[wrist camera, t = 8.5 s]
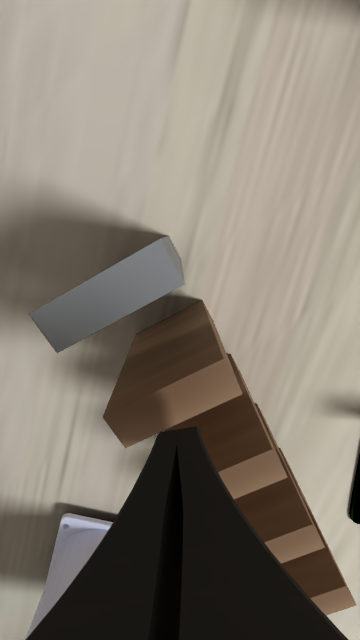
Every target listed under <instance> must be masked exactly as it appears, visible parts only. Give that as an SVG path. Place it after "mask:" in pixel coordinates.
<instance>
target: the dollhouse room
mask: <svg viewBox="0 0 360 640" xmlns="http://www.w3.org/2000/svg"><path fill="white" fill-rule="evenodd" d="M349 514H350V518H351V519H352V520H353V522H355V523H357V524H360V454H359V459H358V464H357V469H356V474H355V480H354V485H353V491H352V497H351V503H350V511H349Z"/></svg>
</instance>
